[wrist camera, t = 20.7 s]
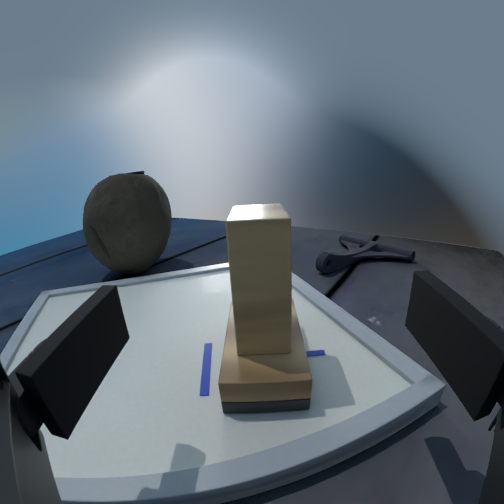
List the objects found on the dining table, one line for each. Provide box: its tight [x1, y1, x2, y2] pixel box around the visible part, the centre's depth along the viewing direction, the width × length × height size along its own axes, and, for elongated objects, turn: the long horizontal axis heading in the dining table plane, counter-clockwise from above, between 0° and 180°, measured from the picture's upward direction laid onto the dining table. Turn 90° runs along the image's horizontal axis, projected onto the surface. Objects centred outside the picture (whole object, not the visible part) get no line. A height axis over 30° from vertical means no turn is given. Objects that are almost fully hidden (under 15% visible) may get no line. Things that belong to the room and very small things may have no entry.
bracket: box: [316, 235, 415, 273], centre depth 43 cm, size 14×15×3 cm
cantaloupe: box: [83, 174, 171, 274], centre depth 43 cm, size 14×14×15 cm
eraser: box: [218, 204, 313, 413], centre depth 19 cm, size 10×5×10 cm, turn 179°
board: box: [0, 263, 446, 504], centre depth 24 cm, size 30×32×2 cm
